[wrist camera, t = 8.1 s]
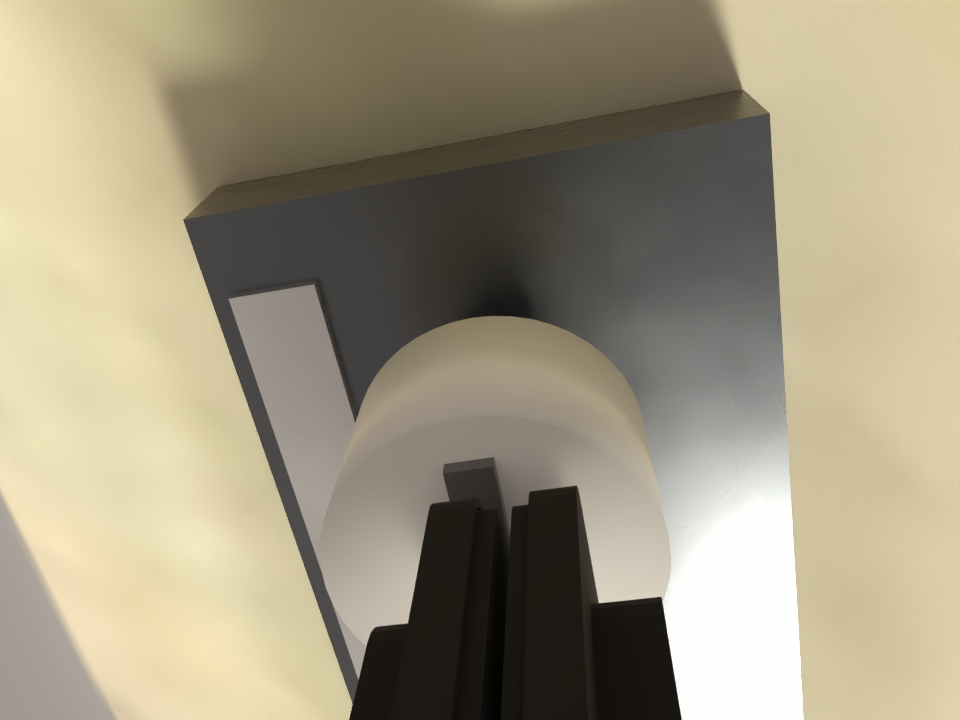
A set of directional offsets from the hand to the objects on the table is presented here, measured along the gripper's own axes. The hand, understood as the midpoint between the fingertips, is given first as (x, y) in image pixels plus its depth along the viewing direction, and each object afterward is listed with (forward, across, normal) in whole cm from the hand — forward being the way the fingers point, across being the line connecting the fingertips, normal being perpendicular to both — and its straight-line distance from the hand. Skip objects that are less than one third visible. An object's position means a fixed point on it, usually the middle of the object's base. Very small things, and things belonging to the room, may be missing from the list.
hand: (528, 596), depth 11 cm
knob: (+6, +1, 0) cm, 6 cm away
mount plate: (+9, +1, +7) cm, 11 cm away
